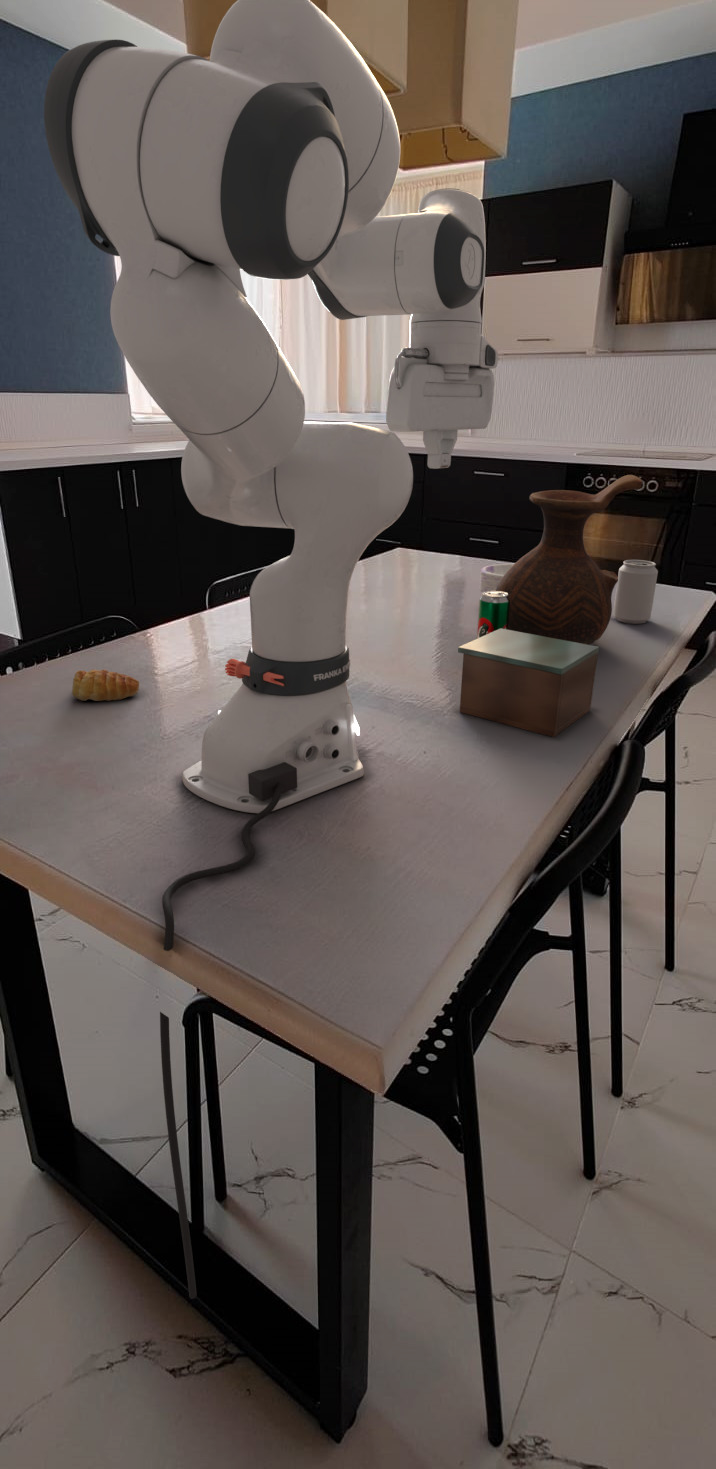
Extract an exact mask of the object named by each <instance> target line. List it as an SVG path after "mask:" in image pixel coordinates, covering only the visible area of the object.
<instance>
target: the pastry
mask: <svg viewBox="0 0 716 1469" xmlns="http://www.w3.org/2000/svg"><path fill="white" fill-rule="evenodd" d="M139 690H140V681H139V680H137V679H136V678H134V677H132V676H131V675H130V676H128V675H127V674H124V673H118V672H115V671H108V670H107V669H100V670H98V669H91V670H89V671H85V670H77V671H76V672H75V673H74V678H73V681H72V692H71V695H72V697H74V698H76V699H77V700H80V701H87V700H92V701H94V702H98V701H99V702H102V701H109V702H110V701H117V700H118V701H119V700H122V699H126V698H128V697H134V696H135V695H137V694H138V692H139Z"/></svg>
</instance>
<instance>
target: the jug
mask: <svg viewBox="0 0 716 1469" xmlns="http://www.w3.org/2000/svg"><path fill="white" fill-rule="evenodd" d="M642 485H643V480H642V479H641V478H640V477H638V476H636V475H633V474H627V475H624V476H621V477H619V478H618V479H615V481H613V482H612V483H611V484H609V485H608V486H606V487H605V488H604V489H602V490H601V491H599V492H597V493H596V494H591V493H587V492H582V491H578V490H569V489H568V490H567V489H549V490H542V491H536V492H532V493H531V494H530V495H529V497H528V498H529V500H530V502H532V503H533V504H534V505H536V506H538V507H540V510H541V511H542V515H543V516H542V517H543V532H542V536H541V539H540V542H539V543H538V545H537V546H535V547H534V548H533V549H531V550H530V551H529V552H527V553H526V554H525V555H523V556H522V557H520V558H519V559H518V560H517V561H516V562H515V563H513V564H514V565H513V566H512V567H511V568H510V569H509V570H508V571H507V572H506V574H505V575H504V576H503V578H502V579H501V581H500V582H499V584H498V586H497V587H496V589H495V591H501V592H506V593H508V595H509V596H508V597H509V599H510V611H509V622H508V630H512V631H517V632H523V633H528V634H533V635H539V636H544V637H549V638H555V639H560V640H565V641H571V642H576V643H581V644H587V645H592V644H593V643H594V642H597V641H598V640H600V638H601V637H602V636H603V635H604V633H605V632H606V630H607V629H608V626H609V624H610V621H611V619H612V614H613V603H612V595H613V591H614V589H615V586H616V585H617V582H618V575H617V574H616V572H614V571H609V570H607V569H601V568H600V567H599V566H598V564H597V563H596V562H595V560H594V559H593V558H591V556H590V555H589V554H588V553H587V551H586V548H585V544H584V538H583V537H584V529H585V525H586V522H587V521H588V519H589V518H590V517H591V516H592V515H594V514H595V513H597V512H600V511H602V510H605V509H606V508H607V507H608V506H609V504H610V503H611V502H612V500H613V499H614V498H615V497H616V495H618V494H620V493H623V492H626V491H630V490H633V491H638V490H640V489H641V488H642Z"/></svg>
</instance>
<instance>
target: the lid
mask: <svg viewBox="0 0 716 1469" xmlns="http://www.w3.org/2000/svg"><path fill="white" fill-rule="evenodd" d="M599 650H600V647H599V646H597V645H592V644H589V645H587V644H581V643H576V642H571V641H565V640H560V639H555V638H549V637H544V636H539V635H533V634H528V633H523V632H517V631H512V630H507V629H501V628H500V629H498V630H496V631H494V632H491V633H489V634H487V635H484V636H482V637H480V638H478V639H477V638H476V639H473V640H471V641H469V642H467V643H464V644H462V645H460V646H458V647H457V653H459V654H468V655H472V656H477V657H482V658H486V659H491V660H496V661H500V662H505V663H510V664H514V665H519V666H524V667H528V668H533V669H538V670H542V671H547V672H552V673H556V674H561V675H562V674H563V673H565V672H567V671H568V670H570V669H571V668H573V667H575V666H576V665H578V664H580V663H581V662H583V661H585V660H586V659H588V658H590V657H591V656H593V655H594V654H596V653H598V654H599Z"/></svg>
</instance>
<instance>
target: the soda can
mask: <svg viewBox="0 0 716 1469" xmlns="http://www.w3.org/2000/svg"><path fill="white" fill-rule="evenodd" d="M508 596H509V595H508V593H506V592H501V591H486V592H483V593H482V592H481V596H480V598H479V602H478V603H479V604H478V616H477V627H476V628H477V629H476V639H478V638H480V637H482V636H484V635H487V634H489V633H491V632H494V631H496V630H498V629H500V628H501V629H507V630H508V622H509V611H510V599H509V597H508Z"/></svg>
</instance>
